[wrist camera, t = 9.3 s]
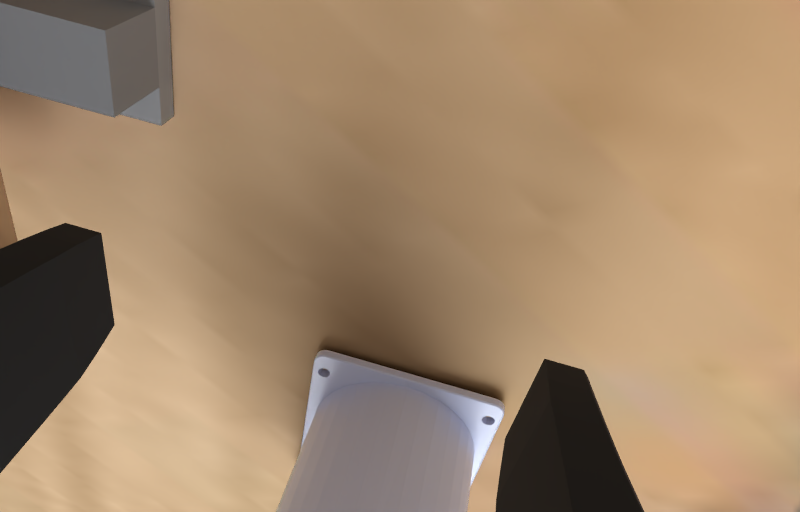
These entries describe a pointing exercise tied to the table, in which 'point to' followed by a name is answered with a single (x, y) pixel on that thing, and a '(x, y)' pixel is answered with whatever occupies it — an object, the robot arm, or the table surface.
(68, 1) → the ridge
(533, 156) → the table surface
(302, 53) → the table surface
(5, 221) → the batten
